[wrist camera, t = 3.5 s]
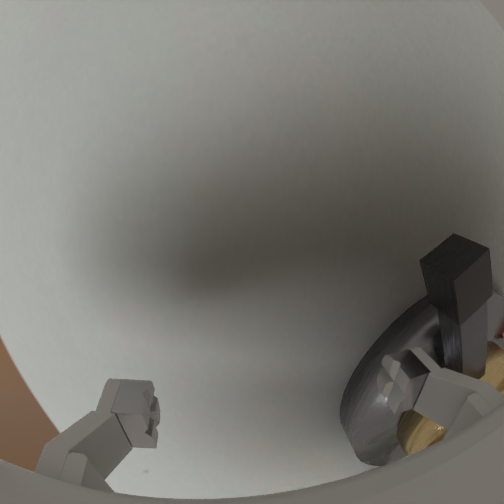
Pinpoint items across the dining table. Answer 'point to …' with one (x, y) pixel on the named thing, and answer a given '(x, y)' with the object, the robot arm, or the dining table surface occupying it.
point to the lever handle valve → (457, 327)
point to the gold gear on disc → (365, 376)
